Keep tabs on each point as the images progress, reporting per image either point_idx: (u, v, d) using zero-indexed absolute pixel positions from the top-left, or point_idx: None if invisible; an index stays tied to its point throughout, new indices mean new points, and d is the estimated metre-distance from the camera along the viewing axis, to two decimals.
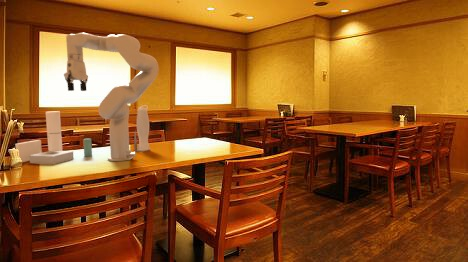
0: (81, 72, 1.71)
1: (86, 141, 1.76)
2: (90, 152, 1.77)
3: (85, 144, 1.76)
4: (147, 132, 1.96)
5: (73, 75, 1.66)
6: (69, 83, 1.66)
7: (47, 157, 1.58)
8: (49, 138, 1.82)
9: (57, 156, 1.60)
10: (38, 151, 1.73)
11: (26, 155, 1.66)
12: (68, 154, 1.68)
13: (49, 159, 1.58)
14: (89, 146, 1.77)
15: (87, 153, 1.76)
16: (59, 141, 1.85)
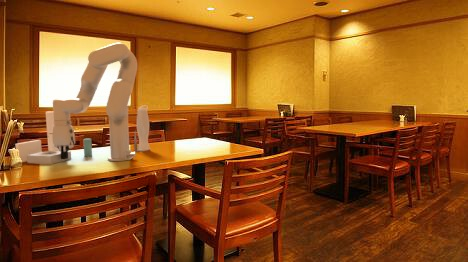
0: None
1: (86, 141, 1.76)
2: (90, 152, 1.77)
3: (85, 144, 1.76)
4: (147, 132, 1.96)
5: (74, 141, 1.64)
6: (67, 151, 1.64)
7: (45, 157, 1.58)
8: (49, 138, 1.82)
9: (55, 156, 1.60)
10: (38, 151, 1.73)
11: (26, 155, 1.66)
12: None
13: (47, 159, 1.58)
14: (89, 146, 1.77)
15: (87, 153, 1.76)
16: None
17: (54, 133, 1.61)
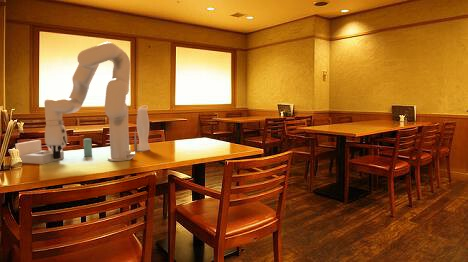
0: None
1: (86, 141, 1.76)
2: (90, 152, 1.77)
3: (85, 144, 1.76)
4: (147, 132, 1.96)
5: None
6: (59, 151, 1.65)
7: (37, 157, 1.59)
8: None
9: (47, 156, 1.61)
10: None
11: None
12: None
13: (39, 159, 1.59)
14: (89, 146, 1.77)
15: (87, 153, 1.76)
16: None
17: (46, 133, 1.62)
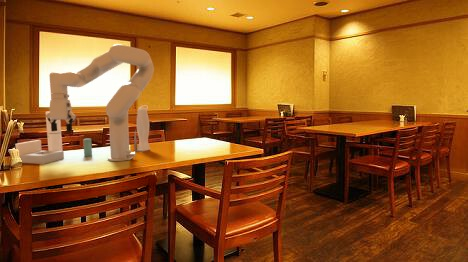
0: None
1: (86, 141, 1.76)
2: (90, 152, 1.77)
3: (85, 144, 1.76)
4: (147, 132, 1.96)
5: None
6: (71, 124, 1.61)
7: (37, 157, 1.59)
8: (49, 138, 1.82)
9: (47, 156, 1.61)
10: None
11: None
12: (58, 154, 1.69)
13: (39, 159, 1.59)
14: (89, 146, 1.77)
15: (87, 153, 1.76)
16: (59, 141, 1.85)
17: (51, 107, 1.60)
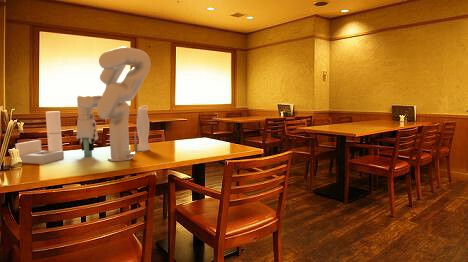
0: None
1: (86, 141, 1.76)
2: (90, 152, 1.77)
3: (85, 144, 1.76)
4: (147, 132, 1.96)
5: None
6: (93, 143, 1.77)
7: (37, 157, 1.59)
8: (49, 138, 1.82)
9: (47, 156, 1.61)
10: None
11: None
12: (58, 154, 1.69)
13: (39, 159, 1.59)
14: None
15: (87, 153, 1.76)
16: (59, 141, 1.85)
17: (78, 126, 1.75)
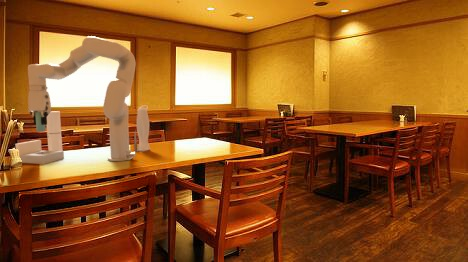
0: None
1: (38, 114, 1.63)
2: (43, 126, 1.65)
3: (37, 117, 1.63)
4: (147, 132, 1.96)
5: (50, 107, 1.65)
6: (45, 117, 1.64)
7: (37, 157, 1.59)
8: (49, 138, 1.82)
9: (47, 156, 1.61)
10: None
11: None
12: (58, 154, 1.69)
13: (39, 159, 1.59)
14: None
15: (39, 127, 1.64)
16: (59, 141, 1.85)
17: (29, 98, 1.62)
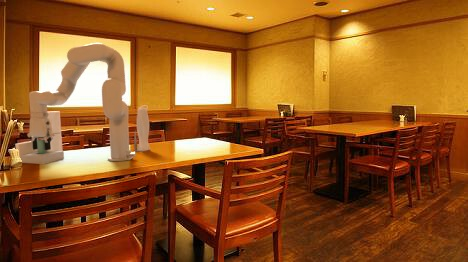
0: None
1: (40, 142, 1.64)
2: None
3: (39, 145, 1.65)
4: (147, 132, 1.96)
5: None
6: (49, 142, 1.65)
7: (37, 157, 1.59)
8: None
9: (47, 156, 1.61)
10: None
11: None
12: (58, 154, 1.69)
13: (39, 159, 1.59)
14: (43, 147, 1.65)
15: None
16: (59, 141, 1.85)
17: (31, 125, 1.64)
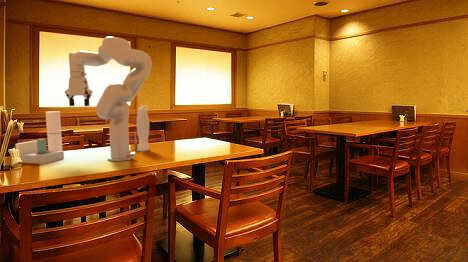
0: None
1: (39, 142, 1.64)
2: None
3: (38, 145, 1.64)
4: (147, 132, 1.96)
5: None
6: (88, 99, 1.78)
7: (37, 157, 1.59)
8: (49, 138, 1.82)
9: (47, 156, 1.61)
10: None
11: None
12: (58, 154, 1.69)
13: (39, 159, 1.59)
14: (43, 147, 1.65)
15: None
16: (59, 141, 1.85)
17: (70, 84, 1.77)
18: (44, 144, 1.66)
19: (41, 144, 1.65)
